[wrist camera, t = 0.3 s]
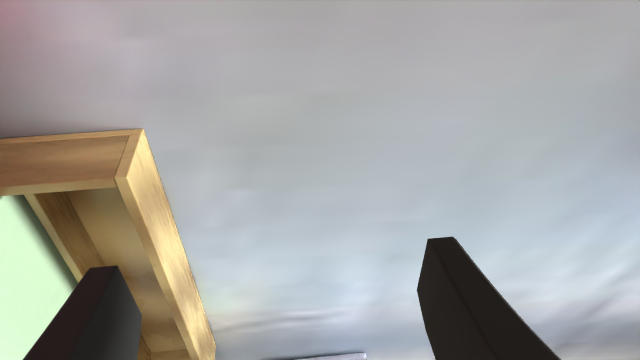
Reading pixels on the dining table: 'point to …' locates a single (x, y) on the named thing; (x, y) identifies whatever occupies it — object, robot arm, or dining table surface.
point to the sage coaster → (28, 278)
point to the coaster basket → (114, 227)
